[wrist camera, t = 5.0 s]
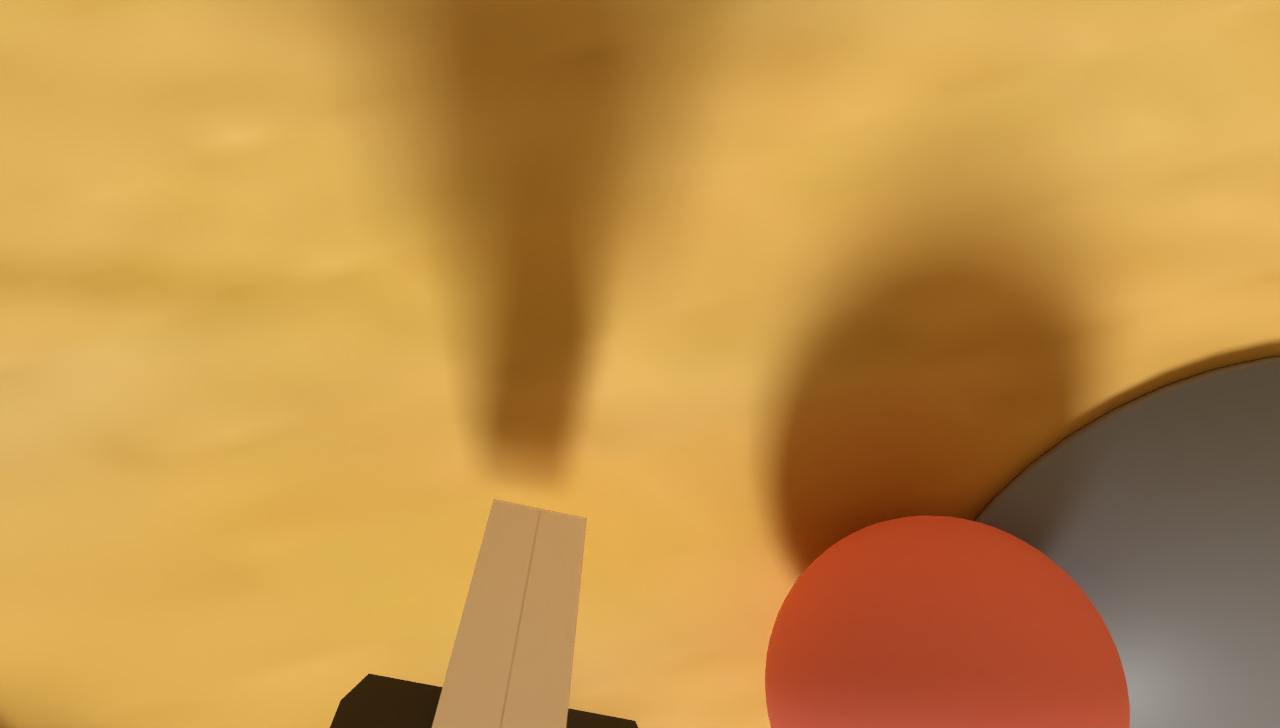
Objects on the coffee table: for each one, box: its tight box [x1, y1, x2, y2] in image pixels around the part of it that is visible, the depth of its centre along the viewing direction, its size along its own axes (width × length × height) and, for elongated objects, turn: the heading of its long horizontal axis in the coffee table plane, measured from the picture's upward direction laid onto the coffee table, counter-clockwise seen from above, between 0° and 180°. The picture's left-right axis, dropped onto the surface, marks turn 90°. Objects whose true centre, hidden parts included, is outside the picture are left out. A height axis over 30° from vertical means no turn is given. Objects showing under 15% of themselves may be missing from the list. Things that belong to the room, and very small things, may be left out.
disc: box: [975, 356, 1280, 728], centre depth 18 cm, size 13×13×1 cm
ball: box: [765, 515, 1130, 728], centre depth 15 cm, size 6×6×6 cm
